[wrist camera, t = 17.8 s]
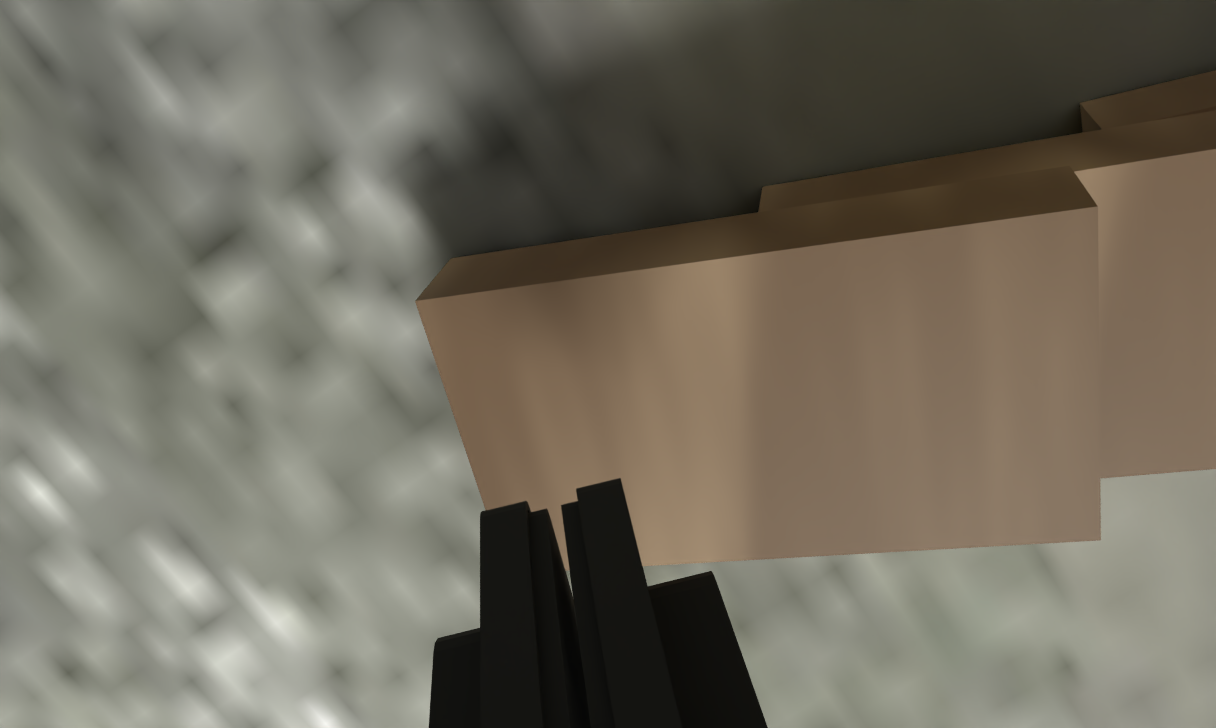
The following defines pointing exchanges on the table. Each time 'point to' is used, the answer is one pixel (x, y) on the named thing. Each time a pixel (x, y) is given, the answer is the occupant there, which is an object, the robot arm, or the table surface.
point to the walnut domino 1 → (795, 373)
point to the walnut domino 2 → (1116, 271)
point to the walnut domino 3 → (1151, 103)
